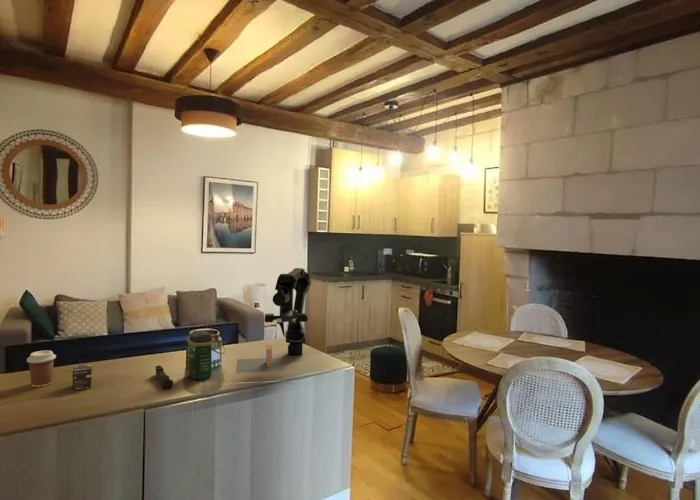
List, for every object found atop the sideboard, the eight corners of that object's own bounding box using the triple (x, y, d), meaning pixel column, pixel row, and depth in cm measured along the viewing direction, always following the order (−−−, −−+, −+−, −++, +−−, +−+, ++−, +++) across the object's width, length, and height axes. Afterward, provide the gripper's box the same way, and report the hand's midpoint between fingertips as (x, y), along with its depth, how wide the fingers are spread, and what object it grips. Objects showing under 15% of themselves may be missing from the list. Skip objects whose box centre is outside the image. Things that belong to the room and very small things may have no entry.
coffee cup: (53, 378, 172) (53, 348, 172) (58, 384, 166) (58, 353, 165) (24, 383, 166) (24, 352, 165) (29, 390, 160) (28, 358, 159)
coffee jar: (214, 377, 179) (215, 332, 178) (195, 381, 174) (195, 335, 173) (205, 371, 186) (205, 327, 185) (186, 374, 181) (187, 330, 180)
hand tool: (173, 389, 166) (173, 377, 165) (161, 391, 163) (162, 379, 163) (164, 374, 182) (164, 363, 181) (154, 375, 179) (154, 364, 179)
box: (72, 390, 161) (72, 371, 160) (73, 385, 166) (73, 366, 166) (91, 388, 164) (91, 369, 163) (92, 383, 169) (92, 364, 168)
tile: (271, 361, 199) (271, 344, 199) (271, 366, 192) (272, 348, 192) (266, 362, 199) (266, 344, 198) (266, 367, 192) (266, 349, 191)
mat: (281, 359, 206) (281, 357, 206) (283, 372, 188) (283, 370, 188) (237, 360, 201) (237, 359, 201) (235, 373, 184) (235, 372, 184)
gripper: (265, 305, 185) (264, 342, 186) (309, 305, 189) (308, 341, 190) (264, 301, 196) (264, 335, 197) (306, 300, 200) (305, 334, 201)
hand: (285, 336), depth 196 cm, fingers closed
